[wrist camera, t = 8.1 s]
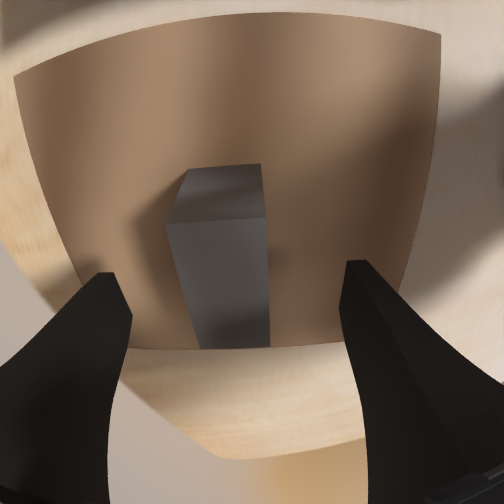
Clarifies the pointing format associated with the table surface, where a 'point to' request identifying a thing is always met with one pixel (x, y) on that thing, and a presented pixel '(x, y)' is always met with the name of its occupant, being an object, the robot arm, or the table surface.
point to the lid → (236, 168)
